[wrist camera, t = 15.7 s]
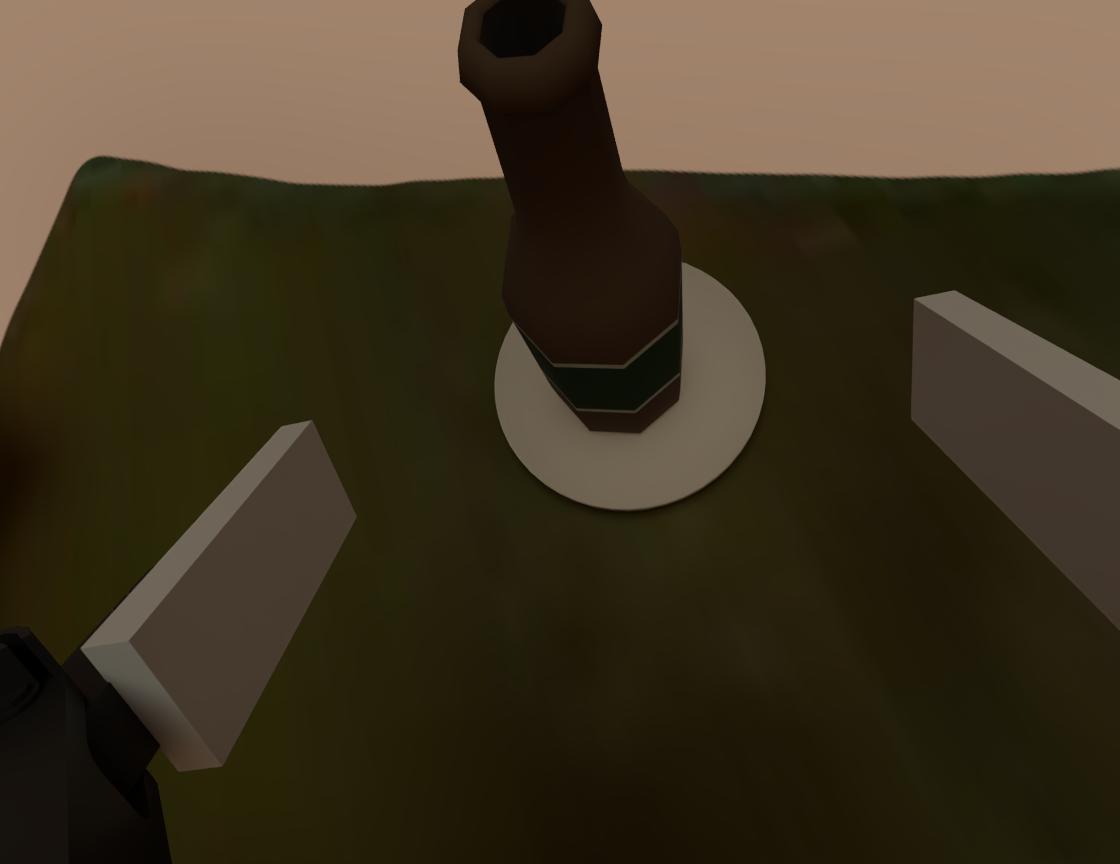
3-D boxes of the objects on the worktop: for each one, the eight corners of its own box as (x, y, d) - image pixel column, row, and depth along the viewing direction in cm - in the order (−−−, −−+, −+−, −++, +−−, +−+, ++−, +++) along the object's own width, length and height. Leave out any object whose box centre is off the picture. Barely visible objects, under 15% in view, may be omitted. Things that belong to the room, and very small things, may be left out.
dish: (456, 376, 42) (445, 364, 40) (644, 226, 43) (642, 208, 41) (607, 570, 37) (603, 568, 35) (820, 397, 37) (828, 385, 35)
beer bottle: (533, 407, 38) (309, 103, 16) (592, 299, 40) (465, -128, 17) (650, 462, 36) (588, 200, 13) (709, 345, 37) (744, -76, 15)
